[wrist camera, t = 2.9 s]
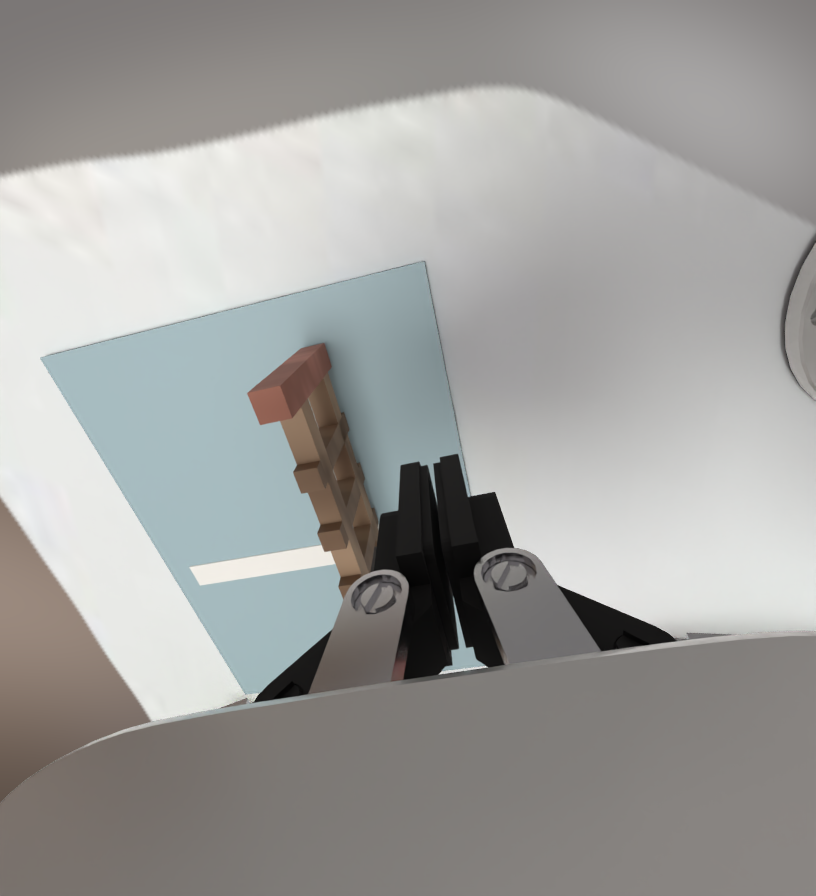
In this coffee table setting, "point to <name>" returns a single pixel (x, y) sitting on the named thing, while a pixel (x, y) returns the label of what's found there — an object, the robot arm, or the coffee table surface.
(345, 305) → the card
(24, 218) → the coffee table surface
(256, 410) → the swing panel
